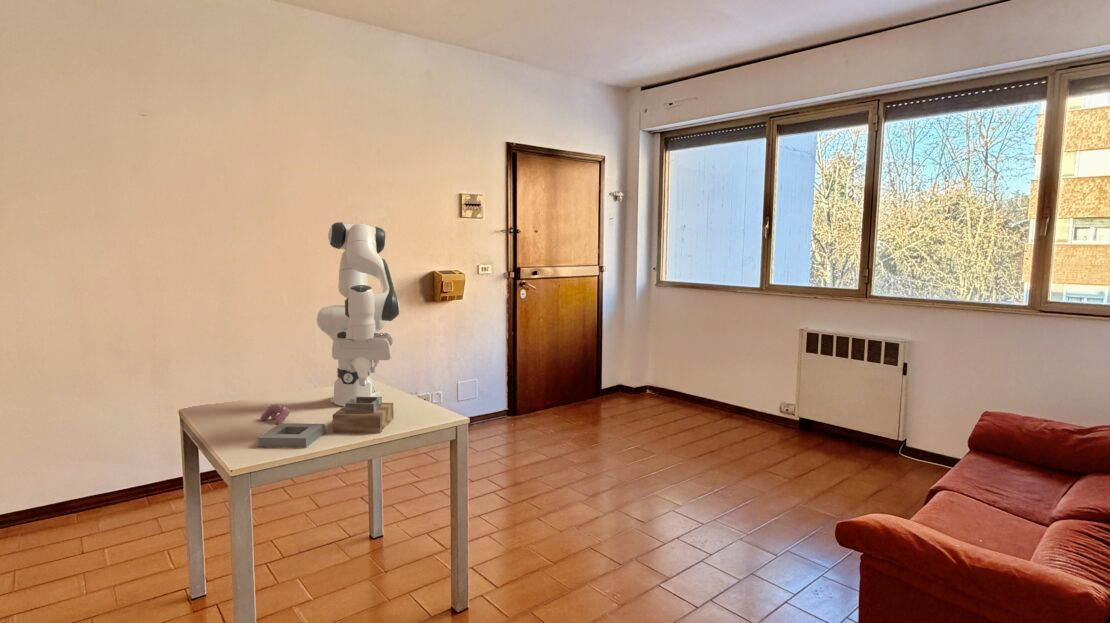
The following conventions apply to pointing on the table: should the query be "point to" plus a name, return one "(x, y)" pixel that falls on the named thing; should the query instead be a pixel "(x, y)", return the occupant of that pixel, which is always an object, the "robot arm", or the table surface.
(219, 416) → the table surface
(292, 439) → the low socket block
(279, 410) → the video game controller
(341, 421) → the raised socket stand
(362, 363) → the lightbulb
